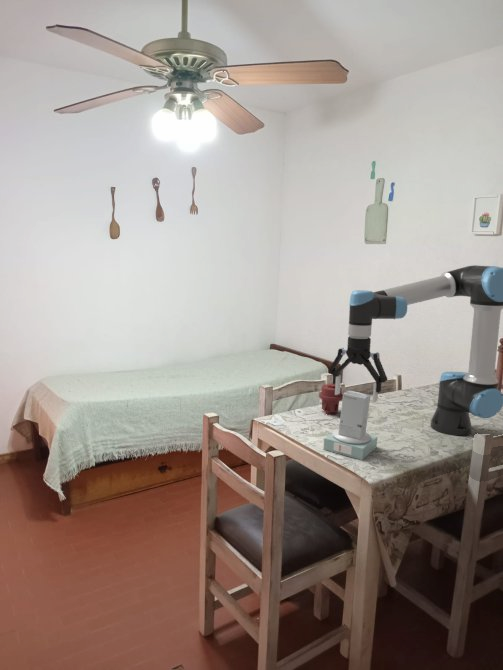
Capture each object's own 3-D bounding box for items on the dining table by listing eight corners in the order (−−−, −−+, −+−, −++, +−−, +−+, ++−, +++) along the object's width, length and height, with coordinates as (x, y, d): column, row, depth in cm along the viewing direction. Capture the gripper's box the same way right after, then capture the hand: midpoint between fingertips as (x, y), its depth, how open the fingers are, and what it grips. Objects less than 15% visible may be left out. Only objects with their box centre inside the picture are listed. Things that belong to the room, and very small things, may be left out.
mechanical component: (316, 408, 213) (338, 409, 214) (320, 416, 203) (343, 417, 204) (318, 381, 211) (341, 381, 212) (322, 387, 201) (346, 388, 202)
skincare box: (338, 434, 170) (341, 393, 167) (344, 429, 175) (347, 389, 172) (361, 440, 165) (364, 397, 163) (367, 435, 170) (370, 393, 168)
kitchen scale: (376, 447, 173) (377, 433, 172) (361, 460, 161) (362, 446, 160) (339, 437, 181) (340, 424, 180) (322, 449, 169) (323, 436, 168)
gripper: (399, 339, 161) (395, 401, 164) (329, 331, 174) (327, 388, 178) (392, 342, 155) (388, 407, 158) (320, 334, 168) (318, 393, 172)
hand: (355, 397), depth 168 cm, fingers open, 13 cm apart
